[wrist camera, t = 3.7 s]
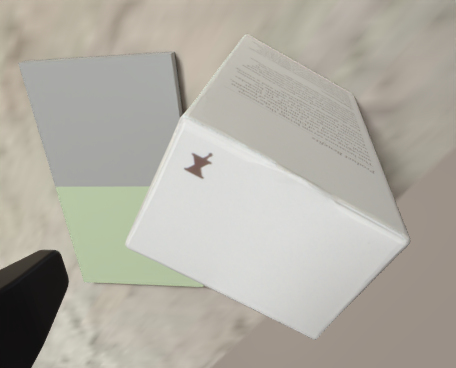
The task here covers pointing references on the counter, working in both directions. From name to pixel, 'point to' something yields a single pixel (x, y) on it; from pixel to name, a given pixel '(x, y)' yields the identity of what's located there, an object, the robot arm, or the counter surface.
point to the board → (106, 152)
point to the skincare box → (272, 193)
